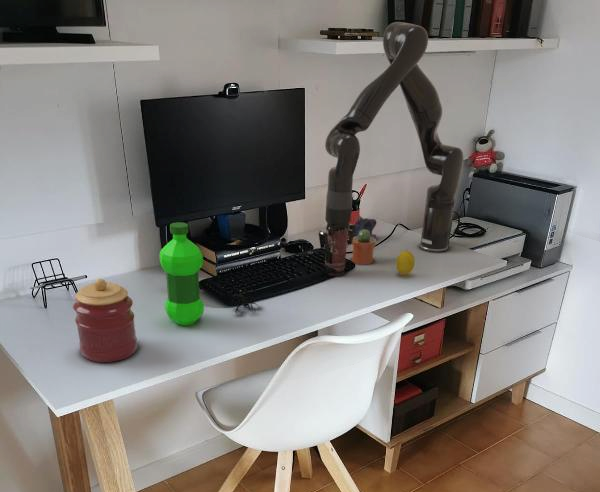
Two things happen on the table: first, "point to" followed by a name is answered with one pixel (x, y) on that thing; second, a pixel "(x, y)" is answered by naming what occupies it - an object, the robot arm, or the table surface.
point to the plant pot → (363, 248)
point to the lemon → (405, 262)
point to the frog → (365, 226)
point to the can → (338, 251)
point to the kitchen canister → (105, 322)
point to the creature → (240, 301)
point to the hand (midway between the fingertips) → (335, 261)
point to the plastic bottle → (182, 276)
